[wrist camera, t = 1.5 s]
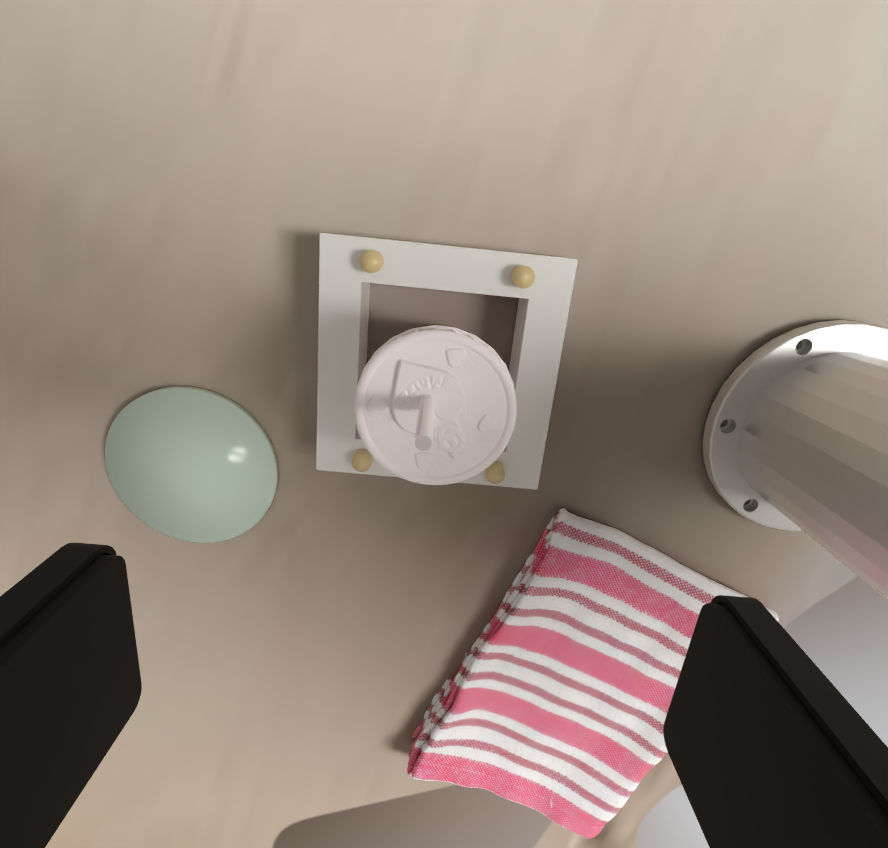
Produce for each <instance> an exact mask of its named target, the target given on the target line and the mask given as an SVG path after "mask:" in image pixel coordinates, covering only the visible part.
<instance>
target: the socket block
mask: <svg viewBox="0 0 888 848" xmlns="http://www.w3.org/2000/svg"><path fill="white" fill-rule="evenodd" d="M577 262H578V259H572V258H565V257H556V256H547V255H537V254H527V253H518V252H508V251H498V250H488V249H479V248H469V247H459V246H449V245H440V244H430V243H420V242H410V241H401V240H391V239H381V238H372V237H362V236H352V235H342V234H331V233H320V254H319V321H318V388H317V455H316V470H322V471H333V472H344V473H355V474H367V475H378V476H389V477H399V476H396V475H395V474H393V473H391V472H390V471H388V470H387V469H385V468H384V467H383V466H382V465H381V464H379V463H378V462H377V461H376V460H375V459H374V458H373V456H372V455H371V454H370V453H369V451H368V450H367V448H366V447H365V445H364V443H363V441H362V439H361V437H360V435H359V432H358V429H357V426H356V421H355V414H354V400H355V393H356V389H357V385H358V383H359V380H360V377H361V374H362V372H363V369H364V367H365V366H366V364H367V346H368V325H369V304H370V283H376V284H386V285H396V286H406V287H416V288H426V289H436V290H446V291H456V292H466V293H476V294H486V295H495V296H505V297H515V298H519V302H518V309H517V316H516V323H515V330H514V337H513V344H512V351H511V358H510V365H509V373H510V376H511V378H512V380H513V383H514V389H515V394H516V401H517V416H516V423H515V427H514V430H513V433H512V436H511V438H510V440H509V442H508V444H507V446H506V448H505V449H504V451H503V452H502V453H501V455H500V456H499V457H498V458H497V459H496V460H495V461H494V462H493V463H492V464H491V465H490V466H489V467H488V468H486V469H485V470H484V471H482V472H480V473H479V474H477V475H475V476H473V477H471V478H469V479H466V480H464V481H461V482H457V483H468V484H479V485H490V486H501V487H513V488H524V489H535V490H537V489H538V484H539V478H540V472H541V467H542V461H543V455H544V450H545V444H546V438H547V433H548V427H549V421H550V415H551V410H552V404H553V398H554V393H555V387H556V381H557V376H558V370H559V364H560V359H561V353H562V347H563V342H564V336H565V330H566V325H567V319H568V313H569V307H570V302H571V296H572V290H573V285H574V279H575V273H576V268H577ZM400 478H401V477H400Z"/></svg>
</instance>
